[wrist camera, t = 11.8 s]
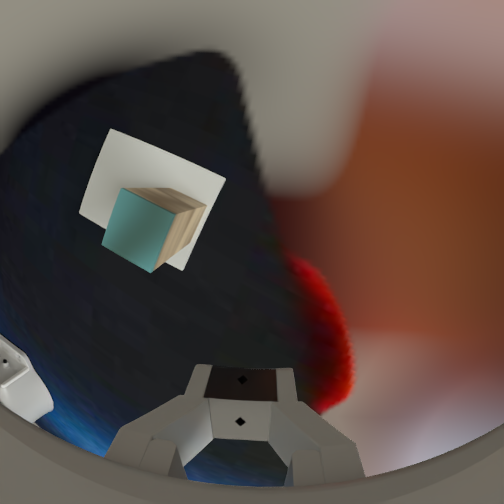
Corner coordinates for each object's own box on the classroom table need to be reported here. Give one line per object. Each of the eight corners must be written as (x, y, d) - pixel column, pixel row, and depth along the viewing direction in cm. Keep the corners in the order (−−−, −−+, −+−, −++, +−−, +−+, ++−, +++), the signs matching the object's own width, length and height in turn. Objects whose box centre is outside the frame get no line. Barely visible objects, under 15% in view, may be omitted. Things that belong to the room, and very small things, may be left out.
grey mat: (80, 212, 26) (78, 213, 26) (112, 129, 24) (110, 128, 23) (183, 269, 27) (182, 270, 27) (226, 178, 25) (225, 178, 24)
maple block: (155, 224, 26) (101, 244, 16) (171, 187, 25) (120, 187, 15) (190, 242, 26) (150, 272, 16) (207, 205, 25) (174, 214, 15)
